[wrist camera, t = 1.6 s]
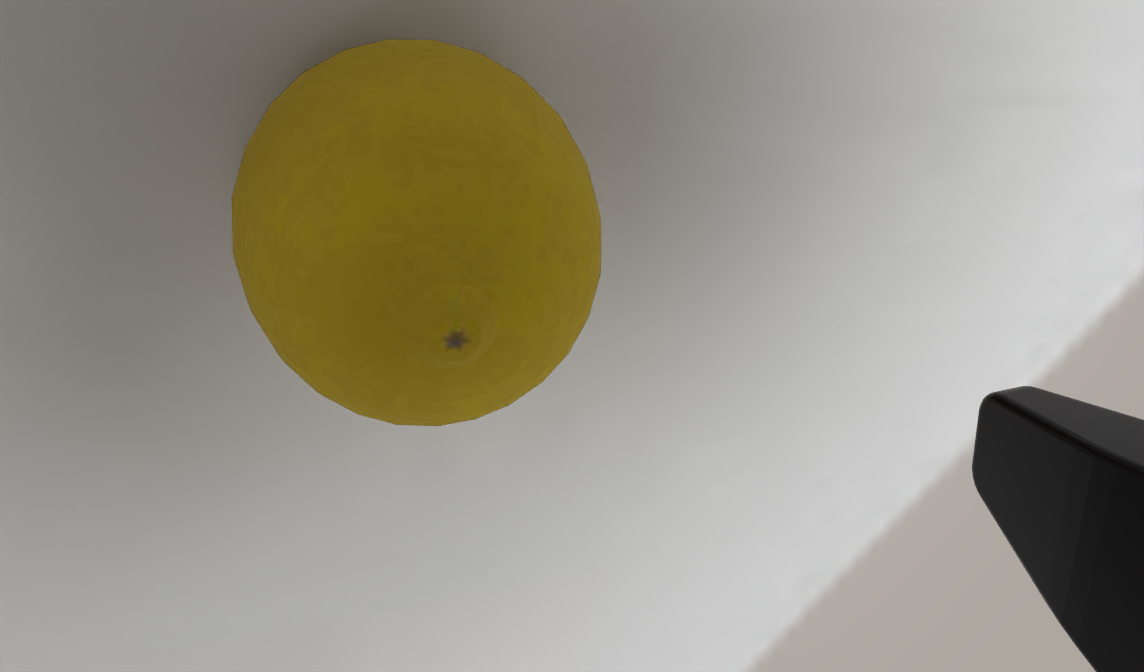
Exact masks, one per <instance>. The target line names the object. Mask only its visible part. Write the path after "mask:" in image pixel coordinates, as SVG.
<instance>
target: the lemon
mask: <svg viewBox="0 0 1144 672" xmlns="http://www.w3.org/2000/svg"><path fill="white" fill-rule="evenodd" d="M232 234H233V255H234V259H235V263H236V266H237V269H238V273H239V276H240V279H241V282H242V285H243V289H244V292H245V295H246V298H247V302H248V304H249V307H250V309H251V311H252V313H253V315H254V317H255V318H256V320H257V321H258V323H259V325H260V326H261V328H262V329H263V331H264V332H265V334H266V336H267V337H268V339H269V340H270V342H271V343H272V345H273V347H274V348H275V350H276V351H277V353H278V354H279V356H280V357H281V358H282V360H283V361H284V362H285V363H286V364H287V365H288V366H289V367H290V368H291V369H292V370H294V371H295V372H296V373H297V374H298V375H299V376H300V377H301V378H302V379H303V380H305V381H306V382H307V383H308V384H309V385H310V386H311V387H312V388H313V389H314V390H315V391H317V392H318V393H320V394H321V395H323V396H325V397H327V398H328V399H330V400H332V401H334V402H336V403H338V404H340V405H342V406H344V407H345V408H347V409H349V410H351V411H353V412H355V413H357V414H359V415H362V416H366V417H370V418H374V419H378V420H381V421H385V422H389V423H393V424H396V425H424V426H441V425H446V424H451V423H457V422H462V421H467V420H473V419H476V418H479V417H481V416H484V415H486V414H489V413H491V412H493V411H496V410H498V409H501V408H503V407H505V406H508V405H510V404H511V403H513V402H514V401H516V400H517V399H518V398H520V397H521V396H523V395H524V394H526V393H527V392H529V391H530V390H531V389H533V388H534V387H536V386H537V385H539V384H540V383H542V382H543V381H544V380H545V379H546V377H547V376H548V375H549V374H550V373H551V372H552V371H553V370H554V369H555V368H556V366H557V365H558V364H559V363H560V362H561V361H562V360H563V359H564V358H565V357H566V355H567V354H568V353H569V351H570V350H571V348H572V346H573V344H574V342H575V341H576V339H577V337H578V335H579V333H580V332H581V330H582V328H583V326H584V325H585V323H586V321H587V319H588V316H589V313H590V310H591V306H592V303H593V299H594V295H595V292H596V288H597V285H598V281H599V277H600V270H601V219H600V213H599V209H598V205H597V201H596V197H595V193H594V189H593V185H592V182H591V178H590V174H589V170H588V166H587V164H586V162H585V159H584V157H583V155H582V154H581V152H580V150H579V148H578V147H577V145H576V143H575V141H574V139H573V138H572V136H571V134H570V132H569V131H568V129H567V127H566V125H565V123H564V122H563V120H562V119H561V117H560V116H559V114H558V113H557V112H556V111H555V110H554V109H553V108H552V107H551V106H550V105H549V104H548V103H547V102H546V101H545V100H544V99H543V98H542V97H541V96H540V95H539V94H538V93H537V92H536V91H535V90H534V89H533V88H532V87H531V86H530V85H529V84H528V83H527V82H526V81H525V80H524V79H523V78H522V77H520V76H518V75H517V74H515V73H513V72H511V71H510V70H508V69H506V68H505V67H503V66H501V65H499V64H498V63H496V62H494V61H493V60H491V59H489V58H488V57H486V56H484V55H482V54H480V53H478V52H475V51H472V50H468V49H465V48H461V47H457V46H454V45H450V44H447V43H443V42H440V41H436V40H400V39H387V40H383V41H379V42H375V43H371V44H366V45H362V46H358V47H354V48H350V49H346V50H344V51H342V52H340V53H338V54H336V55H334V56H332V57H331V58H329V59H327V60H325V61H323V62H321V63H320V64H318V65H316V66H314V67H312V68H310V69H308V70H307V71H305V72H303V73H302V74H301V75H300V76H299V77H298V78H297V79H296V80H295V81H294V82H293V83H292V84H291V85H290V86H289V87H288V88H287V89H286V90H285V91H284V92H283V93H282V94H281V95H280V96H278V97H277V98H276V99H275V100H274V101H273V102H272V103H271V105H270V106H269V108H268V110H267V111H266V113H265V115H264V116H263V118H262V120H261V122H260V123H259V125H258V127H257V128H256V130H255V132H254V133H253V135H252V137H251V138H250V140H249V142H248V144H247V145H246V147H245V150H244V154H243V158H242V161H241V165H240V169H239V173H238V176H237V180H236V184H235V187H234V191H233V195H232Z"/></svg>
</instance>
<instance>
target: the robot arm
mask: <svg viewBox="0 0 1144 672" xmlns="http://www.w3.org/2000/svg"><path fill="white" fill-rule="evenodd" d="M972 472H973V479H974V483H975V486H976V488H977V491H978V492H979V495H980V496H981V498H982V500H983V501H984V503H985V504H986V506H987V508H988V509H989V511H990V513H991V514H992V516H993V517H994V519H995V521H996V522H997V524H998V526H999V527H1000V529H1001V530H1002V532H1003V534H1004V535H1005V537H1006V538H1007V540H1008V541H1009V543H1010V545H1011V547H1012V548H1013V550H1014V551H1015V553H1016V555H1017V556H1018V558H1019V559H1020V561H1021V563H1022V564H1023V566H1024V567H1025V569H1026V571H1027V572H1028V574H1029V575H1030V577H1031V579H1032V581H1033V582H1034V584H1035V585H1036V587H1037V589H1038V590H1039V592H1040V593H1041V595H1042V597H1043V598H1044V600H1045V601H1046V603H1047V605H1048V606H1049V608H1050V609H1051V611H1052V612H1053V614H1054V615H1055V617H1056V618H1057V620H1058V621H1059V623H1060V624H1061V626H1062V627H1063V628H1064V630H1065V631H1066V632H1067V634H1068V635H1069V637H1070V638H1071V639H1072V641H1073V642H1074V643H1075V645H1076V646H1077V648H1078V649H1079V650H1080V651H1081V653H1082V654H1083V655H1084V656H1085V658H1086V659H1087V661H1088V662H1089V663H1090V664H1091V666H1092V667H1093V668H1094V670H1095V671H1096V672H1144V420H1142V419H1139V418H1136V417H1132V416H1129V415H1125V414H1122V413H1119V412H1116V411H1112V410H1109V409H1106V408H1102V407H1099V406H1095V405H1092V404H1089V403H1085V402H1082V401H1079V400H1075V399H1072V398H1069V397H1065V396H1062V395H1059V394H1055V393H1052V392H1049V391H1045V390H1042V389H1039V388H1035V387H1031V386H1021V387H1016V388H1012V389H1007V390H1002V391H998V392H993V393H990V394H989V395H987V396H986V397H985V398H984V399H983V401H982V403H981V405H980V409H979V415H978V423H977V431H976V439H975V447H974V455H973V462H972Z"/></svg>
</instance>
